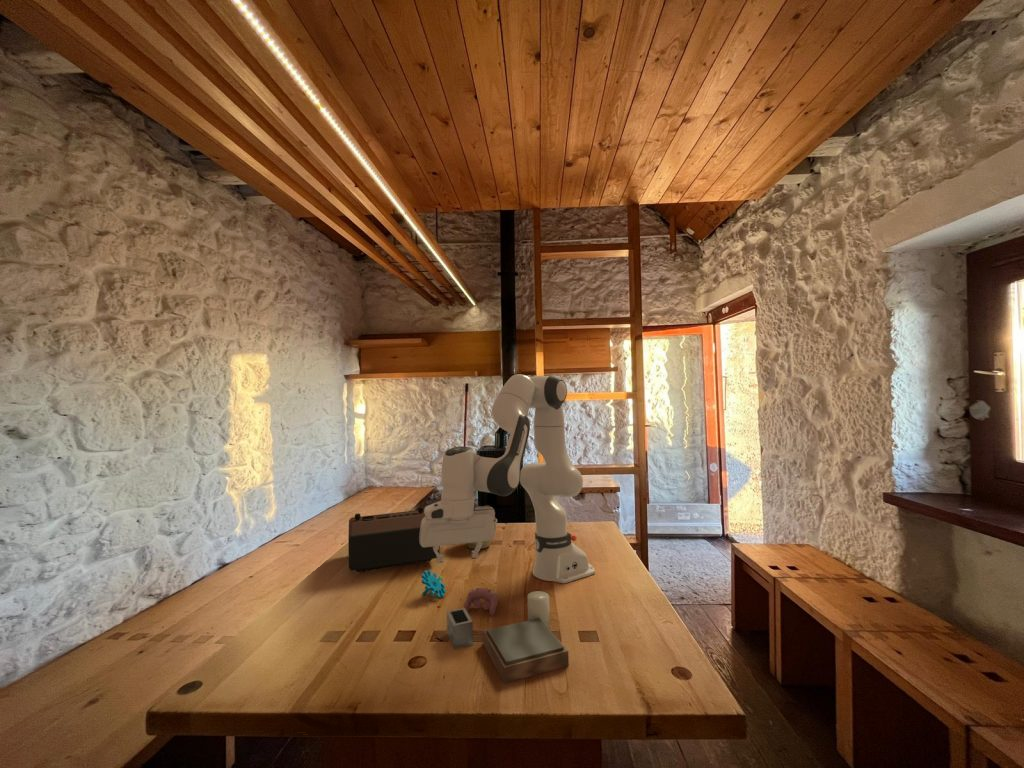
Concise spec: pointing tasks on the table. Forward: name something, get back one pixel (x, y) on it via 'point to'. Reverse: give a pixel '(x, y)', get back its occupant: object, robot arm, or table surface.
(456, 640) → the housing
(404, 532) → the radio receiver
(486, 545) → the planter bowl
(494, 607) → the video game controller
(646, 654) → the table surface
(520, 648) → the plinth
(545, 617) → the pale grey capsule
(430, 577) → the gear
